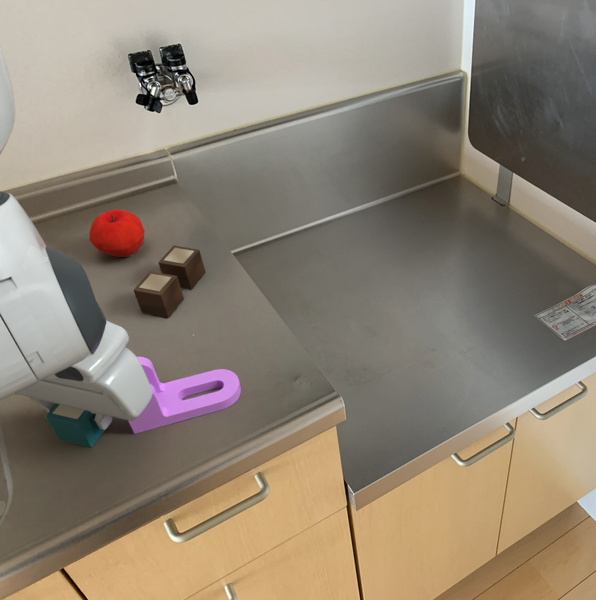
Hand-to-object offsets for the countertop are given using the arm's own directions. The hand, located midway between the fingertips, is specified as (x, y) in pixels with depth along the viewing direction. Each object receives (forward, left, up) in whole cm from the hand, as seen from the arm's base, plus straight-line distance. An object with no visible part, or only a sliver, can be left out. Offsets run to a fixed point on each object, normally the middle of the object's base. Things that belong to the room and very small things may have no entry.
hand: (82, 419), depth 72 cm
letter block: (0, 0, -2) cm, 2 cm away
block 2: (+22, +3, -2) cm, 22 cm away
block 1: (+28, +3, -2) cm, 29 cm away
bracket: (+7, -10, -2) cm, 12 cm away
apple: (+32, +16, -2) cm, 36 cm away
